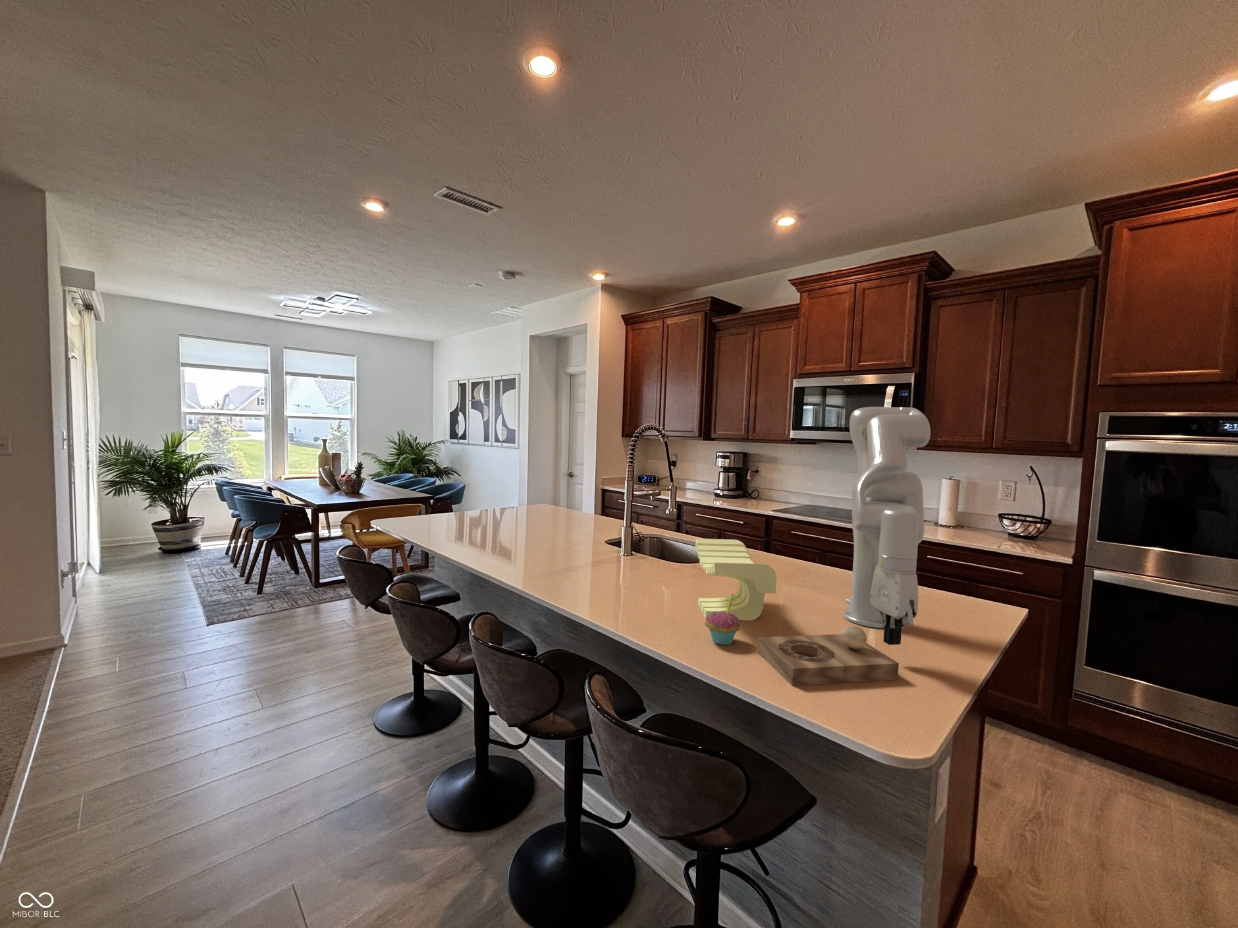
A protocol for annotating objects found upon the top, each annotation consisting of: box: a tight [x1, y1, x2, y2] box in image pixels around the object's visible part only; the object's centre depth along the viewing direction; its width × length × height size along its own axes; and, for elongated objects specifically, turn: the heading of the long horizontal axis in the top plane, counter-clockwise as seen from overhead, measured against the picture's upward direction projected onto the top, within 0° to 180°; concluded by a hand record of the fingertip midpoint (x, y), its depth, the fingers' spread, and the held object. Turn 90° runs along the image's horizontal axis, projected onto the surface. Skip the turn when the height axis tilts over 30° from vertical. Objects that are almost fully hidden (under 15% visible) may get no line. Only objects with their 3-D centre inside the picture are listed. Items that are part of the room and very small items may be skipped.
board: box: [757, 633, 900, 686], centre depth 114 cm, size 24×16×4 cm, turn 100°
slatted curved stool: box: [695, 538, 777, 621], centre depth 146 cm, size 30×16×18 cm, turn 1°
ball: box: [841, 625, 868, 649], centre depth 115 cm, size 5×5×5 cm
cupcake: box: [704, 592, 742, 646], centre depth 125 cm, size 9×8×12 cm
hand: (891, 643), depth 116 cm, fingers closed
